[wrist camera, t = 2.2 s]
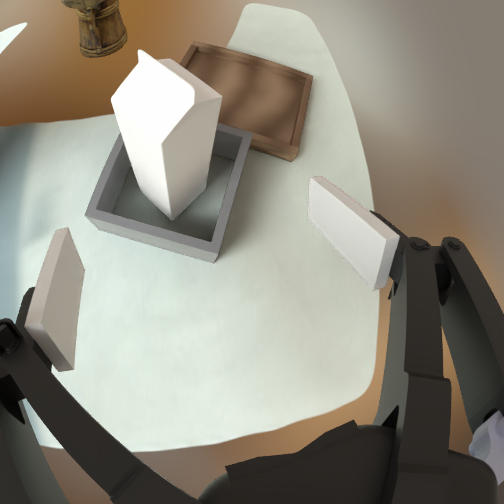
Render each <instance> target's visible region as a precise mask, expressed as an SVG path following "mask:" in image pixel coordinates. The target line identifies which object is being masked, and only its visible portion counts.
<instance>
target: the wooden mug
mask: <svg viewBox="0 0 504 504" xmlns="http://www.w3.org/2000/svg"><path fill="white" fill-rule="evenodd" d="M62 3H63V4H64V5H65V6H67V7H69V8H74V9H77V16H78V18H79V29H80V42H79V44H80V51H81V53H82V55H84V56H85V57H90V58H92V57H102V56H107V55H109V54H112V53H114V52H116V51H117V50H119V49H120V48H122V47H123V45H124V44H125V43H126V42H127V32H126V28H125V26H124V24H123V21H122V18H121V15H120V12H119V8H118V7H119V1H118V0H62Z"/></svg>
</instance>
